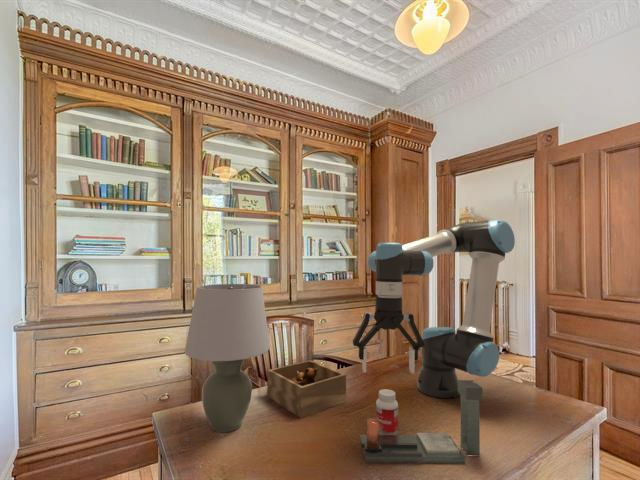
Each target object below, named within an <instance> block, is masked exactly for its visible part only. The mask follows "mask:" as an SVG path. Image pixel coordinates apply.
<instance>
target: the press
mask: <svg viewBox="0 0 640 480" xmlns="http://www.w3.org/2000/svg"><path fill="white" fill-rule="evenodd" d="M458 392H459V393H460V448H461V447H462V448H463V449H462V448H461V449H462V451H463V452H464V451H465V452H466V453H465V452H464V453H465V454H466V456H467V455H480V454H481V452H480V449H481V448H480V446H481V445H480V439H481V437H480V431H481V430H480V401H483V387H482V386H480V385H479V384H478V383H477V382H476V381H475V380H469V379H467V380H465V379H462V380H461V379H458ZM360 443H361V448H362V452H363V453H362V454H363V457H364V461H365V463H376V464H378V463H384V464H385V463H386V464H387V463H388V464H390V463H391V464H394V463H395V464H396V463H397V464H398V463H399V464H466V456H465V455H464V454H463V452H462V451H461V450H460V448H459V447H458V445H457V444H456V442H455V441H454V440H453V439H452V437H451V436H450V435H448V432H416V434H415V435H411V434H409V435H408V434H407V435H403V434H400V435H399V434H397V435H379V443H380V445H381V448H382V452H379V451H365V449H364V443H367V434H360ZM480 456H481V455H480Z"/></svg>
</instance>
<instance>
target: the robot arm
mask: <svg viewBox="0 0 640 480" xmlns="http://www.w3.org/2000/svg"><path fill="white" fill-rule="evenodd" d="M515 239H516V238H515V233H514V230H513V228H512V226H511V225H510V224H509V223H508V222H507V221H505V220H503V219H489V220H477V221H467V222H462V223H458V224H455V225H452V226H450V227H446V228H444V229H443V228H442V229H441V230H438V231H437V232H436V234H433V235H431V236H427V237H424V238H421V239H417V240H413V241H411V242H408V243H405V244H402V243H401V242H379V243H377V244H376V248H375V250H374V251H372V252H371V253H370V254H369V256H368V261H367V262H368V267H369V268H370V271H372V272H375V295H376V296H375V309H374V310H375V311H374V313H369V312H368V311H365V312H364V314H363V320H362V322H361V324H360V326H359V328H358V330H357V332H356V334H355V336H354V337H353V339H352V345H353V346H354V347H357V348H358V358H359V360H361V361H362V362H361V363H362V364H361V370H362V372H363V373H367V353H368V352H367V348H366V346H367V345H368V343H369V342H370V341H371V340H372V338H374V336H375V335H376V334H377V333H378V332H379V331H380V330H381V329H382V330H392V331H393V330H396V329H397V330H398V331H399V332H400V333H401V334H402V335H403V337H404V338H405V340H407V341H408V342H407V343H409V344H410V346H409V347H408V353H409V354H408V357H409V358H408V359H409V360H408V370H409V372H410V373H411V374H415V371H416V370H415V368H416V367H415V361H418V359H419V350H420V348H421V355H422V358H421V359H422V368H421V369H420V373H419V376H418V379H417V389H418V391H420V392H421V393H423V394H424V395H428V396H430V397H434V398H438V397H439V399H449V398H448V397H454V398H456V397H455V396H458V395H459V394H460V393H459V392H458V380H459V379H458V376H457V372H456V369H457V370H459V371H463V372H465V373H468V374H469V375H474V376H478V377H480V378H482V377H488V376H489V375H491V374H492V372H494V371H495V369H496V368H497V366H498V363H499V360H500V351H499V350H500V349H499V347H498V345H497V344H496V343H495V342H494V336H493V334H492V333H491V332H490V330H491V329H490V328H491V321H492V315H493V308H494V300H495V295H496V294H495V293H496V288H497V280H498V275H499V273H498V272H499V266H500V263H501V262H503V261H505V258H506V254H509V253H510V252H512V251H513V249H514V247H515V243H516V241H515ZM453 253H468V255H469V257H470V258H471V260H472V261H471V266H470V274H469V279H468V280H469V281H468V286H467V287H468V288H467V292H466V299H465V306H464V313H463V319H462V325H460V326H459V327H457V328H456V329H455V328H454V327H451V326H433V327H432V326H431V327H425V328H424V329H423V330H422V335H421V333H420V331H419V329H418V328H417V325H416V324H415V318H414V314H413V313H411V312H407V313H403V298H402V296H403V276H425V275H428V274H430V273H431V272H432V270H433V268H434V262H435V261H434V258H433V257H436V256H439V255H442V254H443V255H444V254H445V255H449V254H453ZM373 319H374V320H375V321H376V322H375V323H374V324H373V325H372V327H371V329H370V330H369V331H368V332H367V333H366V334H365V335H364V332H365V331H366V329H367V327H368V325H369V323H370V321H372V320H373ZM404 320H405V321H406V322H407V323H408V326H409V328H410V330H411V332H412V335H413V336H414V339H415V340H416V341H415V340H414V339H413V338H412V337H411V336H410V334H409V333H408V331H407V330H406V329H405V328H404V327H403V325H402V322H403V321H404ZM363 335H364V336H363ZM362 337H363V338H362ZM411 346H412V347H411ZM460 395H461V394H460ZM460 395H459V396H460ZM459 396H458V397H459Z"/></svg>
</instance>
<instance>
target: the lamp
mask: <svg viewBox="0 0 640 480" xmlns="http://www.w3.org/2000/svg"><path fill="white" fill-rule="evenodd" d="M264 298H265V297H264V291H263V286H262V285H259V284H251V283H250V284H249V283H216V284H215V283H214V284H213V283H212V284H203V285H198V286H196V290H195V295H194V302H193V304H192V305H193V306H192V311H191V315H190V316H191V317H190V322H189V327H188V332H187V338H186V343H185V347H184V348H185V349H184V353H185V355H186V356H187V357H189V358H190V359H194V360H198V361H205V362H211V364H212V366H213V370H214V371H213V372H212V373H211V374H209V376H207V377H206V379H205V381H204V383H203V384H202V389H201V403H202V408H203V410H204V414H205V417H206V419H207V421H208V423H209V426H210V428H211V430H212V431H214V432H217V433H229V432H233V431H235V430H237V429H239V428H240V427H241V426H242V423H243V421H244V418H245V416H246V414H247V412H248V410H249V406H250V404H251V399H252V391H253V383H252V380H251V378H250V377H249V375H248V374H247V373H246V371H244V370H242V366H243V364H244V362H245V360H246V359H247V360H248V359H252V358H255V357H256V358H257V357H258V356H261V355H263V354H265V353H267V352H268V351H269V350H270V347H271V346H270V339H269V338H270V337H269V330H268V323H267V321H268V320H267V315H266V306H265V299H264Z"/></svg>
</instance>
